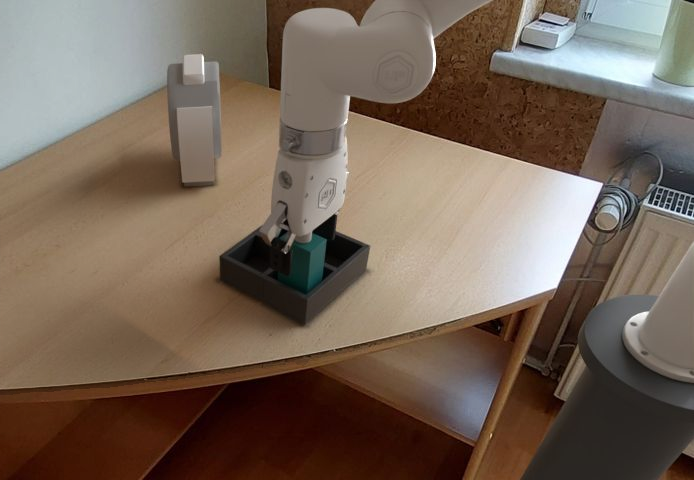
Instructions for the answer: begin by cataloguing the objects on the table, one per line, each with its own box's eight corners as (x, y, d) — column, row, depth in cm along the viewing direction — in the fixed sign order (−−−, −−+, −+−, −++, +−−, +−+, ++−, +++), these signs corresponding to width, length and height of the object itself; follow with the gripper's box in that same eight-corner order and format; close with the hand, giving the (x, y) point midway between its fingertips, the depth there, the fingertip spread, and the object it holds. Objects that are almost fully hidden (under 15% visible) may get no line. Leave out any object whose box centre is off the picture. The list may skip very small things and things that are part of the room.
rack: (366, 270, 92) (370, 245, 88) (304, 325, 84) (307, 300, 81) (282, 233, 100) (284, 208, 96) (220, 280, 92) (219, 255, 89)
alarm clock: (223, 195, 108) (219, 79, 94) (174, 198, 109) (164, 82, 94) (220, 146, 121) (217, 37, 107) (177, 148, 121) (168, 40, 107)
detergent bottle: (320, 294, 87) (328, 228, 79) (305, 307, 86) (311, 241, 78) (291, 280, 90) (296, 214, 82) (276, 293, 88) (279, 227, 80)
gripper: (293, 173, 64) (285, 298, 77) (381, 113, 73) (362, 234, 85) (238, 152, 68) (239, 274, 80) (328, 97, 77) (316, 215, 89)
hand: (302, 253), depth 83 cm, fingers open, 9 cm apart
